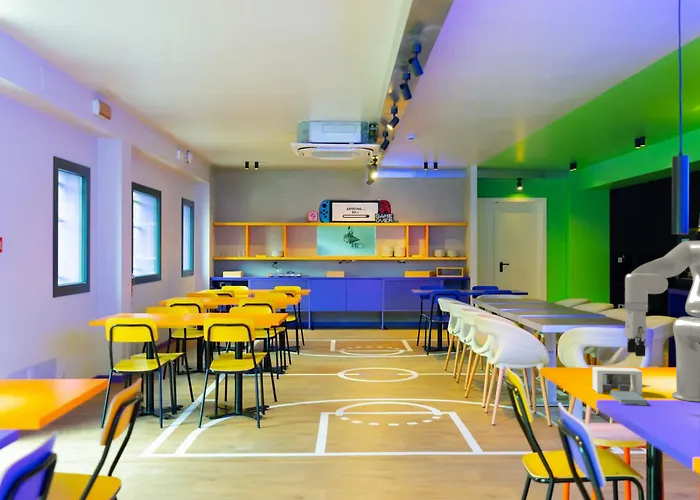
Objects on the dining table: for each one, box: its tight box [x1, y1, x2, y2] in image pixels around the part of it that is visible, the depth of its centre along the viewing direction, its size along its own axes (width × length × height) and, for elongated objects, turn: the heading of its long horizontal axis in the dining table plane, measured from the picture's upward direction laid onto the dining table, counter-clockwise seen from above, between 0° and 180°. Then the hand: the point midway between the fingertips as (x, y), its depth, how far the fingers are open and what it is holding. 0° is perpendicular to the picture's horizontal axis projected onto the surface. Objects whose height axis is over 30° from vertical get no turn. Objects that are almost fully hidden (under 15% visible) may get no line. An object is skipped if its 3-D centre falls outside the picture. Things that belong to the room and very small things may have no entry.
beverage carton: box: [603, 374, 631, 389], centre depth 260 cm, size 8×19×7 cm, turn 117°
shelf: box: [592, 366, 643, 396], centre depth 246 cm, size 17×8×9 cm, turn 81°
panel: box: [609, 390, 648, 406], centre depth 231 cm, size 9×16×2 cm, turn 170°
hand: (636, 354), depth 219 cm, fingers open, 9 cm apart
